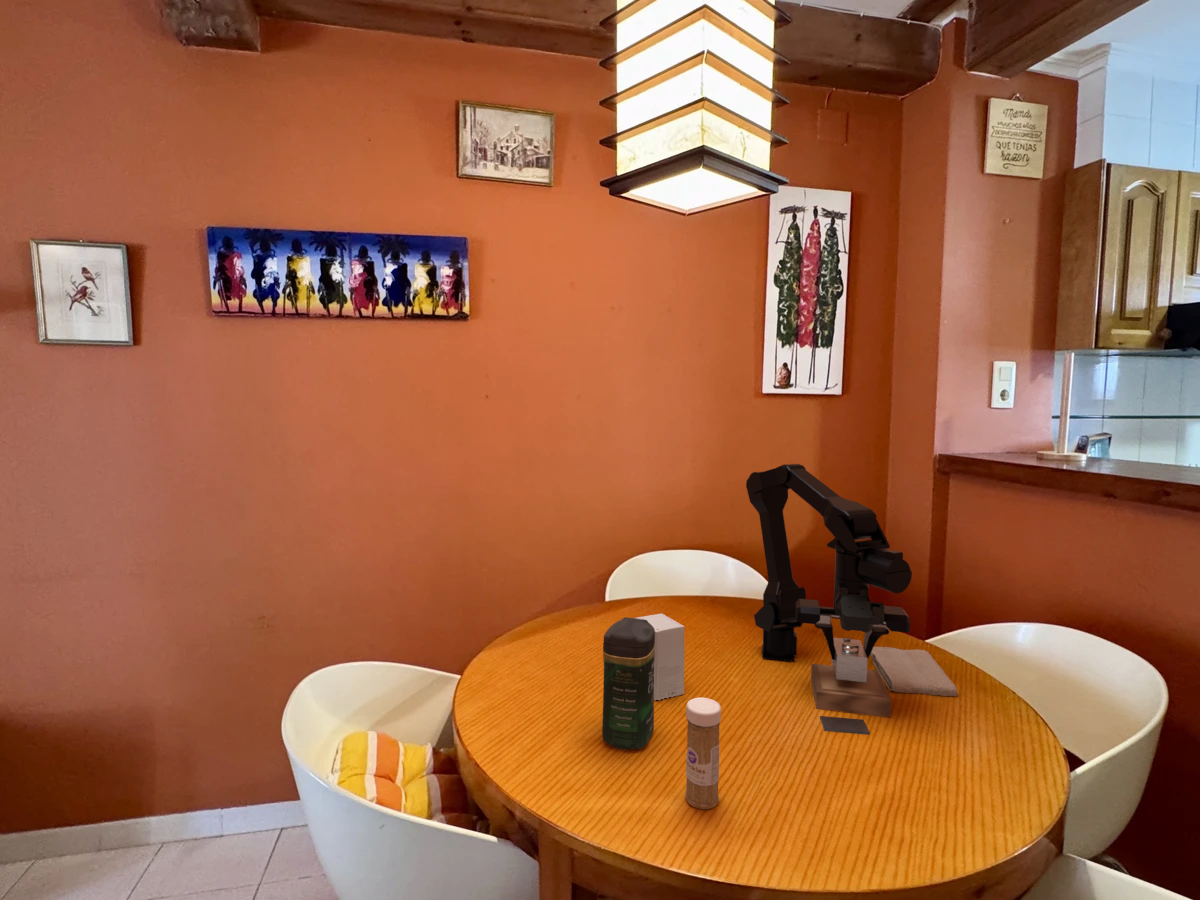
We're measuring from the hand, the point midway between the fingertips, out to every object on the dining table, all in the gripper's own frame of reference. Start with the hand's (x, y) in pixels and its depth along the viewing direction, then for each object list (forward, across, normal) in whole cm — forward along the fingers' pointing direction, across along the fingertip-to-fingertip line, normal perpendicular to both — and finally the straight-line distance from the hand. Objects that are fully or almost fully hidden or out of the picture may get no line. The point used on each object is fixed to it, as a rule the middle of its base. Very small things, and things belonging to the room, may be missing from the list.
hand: (848, 660), depth 110 cm
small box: (+7, -34, -6) cm, 35 cm away
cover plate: (+7, -2, -11) cm, 14 cm away
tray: (+7, 0, 0) cm, 7 cm away
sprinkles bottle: (+7, -23, -36) cm, 43 cm away
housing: (+2, 0, 0) cm, 2 cm away
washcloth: (+8, +13, +13) cm, 20 cm away
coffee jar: (+7, -36, -23) cm, 43 cm away
